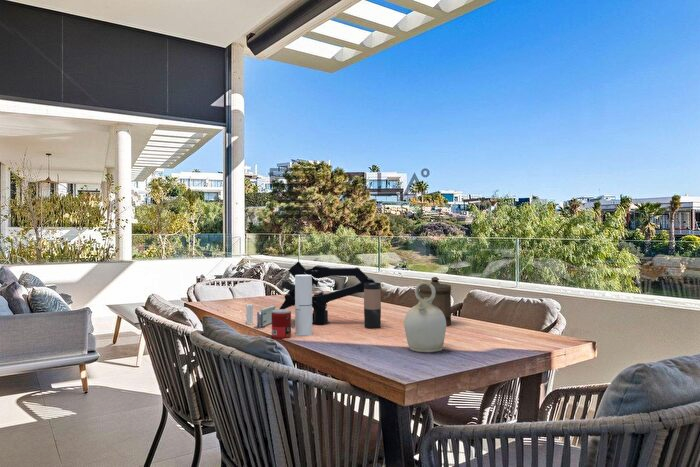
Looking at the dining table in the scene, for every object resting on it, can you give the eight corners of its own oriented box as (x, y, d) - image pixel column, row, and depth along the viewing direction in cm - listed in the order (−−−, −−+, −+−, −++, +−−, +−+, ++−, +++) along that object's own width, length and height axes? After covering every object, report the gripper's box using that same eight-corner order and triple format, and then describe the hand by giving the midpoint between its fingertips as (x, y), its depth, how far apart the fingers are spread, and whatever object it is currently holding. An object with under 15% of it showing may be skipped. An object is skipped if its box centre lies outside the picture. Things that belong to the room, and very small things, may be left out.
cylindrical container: (309, 336, 212) (309, 276, 212) (293, 335, 213) (292, 276, 213) (314, 332, 219) (313, 274, 219) (298, 332, 220) (297, 274, 220)
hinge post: (266, 327, 232) (266, 311, 232) (260, 328, 229) (260, 313, 229) (259, 326, 234) (259, 311, 234) (253, 328, 231) (253, 312, 231)
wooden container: (457, 324, 238) (457, 276, 238) (438, 328, 227) (438, 279, 227) (431, 320, 248) (431, 275, 248) (412, 324, 238) (412, 277, 238)
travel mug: (381, 325, 234) (381, 282, 234) (380, 329, 226) (380, 284, 226) (364, 325, 235) (364, 282, 234) (363, 328, 227) (363, 284, 227)
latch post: (253, 323, 241) (253, 304, 241) (247, 324, 240) (247, 305, 240) (249, 321, 247) (249, 303, 247) (244, 322, 246) (244, 303, 246)
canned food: (289, 339, 207) (289, 312, 207) (270, 339, 207) (270, 312, 207) (292, 335, 214) (292, 309, 214) (273, 335, 215) (273, 309, 215)
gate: (263, 325, 233) (263, 309, 233) (260, 325, 234) (260, 309, 233) (275, 320, 244) (275, 305, 244) (272, 320, 244) (272, 305, 244)
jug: (418, 342, 199) (417, 278, 199) (454, 348, 189) (453, 280, 189) (396, 349, 187) (395, 281, 187) (433, 356, 177) (432, 284, 177)
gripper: (293, 272, 250) (270, 295, 250) (288, 276, 231) (264, 300, 231) (309, 288, 250) (286, 311, 250) (306, 293, 231) (282, 317, 231)
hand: (280, 309), depth 241 cm, fingers closed
